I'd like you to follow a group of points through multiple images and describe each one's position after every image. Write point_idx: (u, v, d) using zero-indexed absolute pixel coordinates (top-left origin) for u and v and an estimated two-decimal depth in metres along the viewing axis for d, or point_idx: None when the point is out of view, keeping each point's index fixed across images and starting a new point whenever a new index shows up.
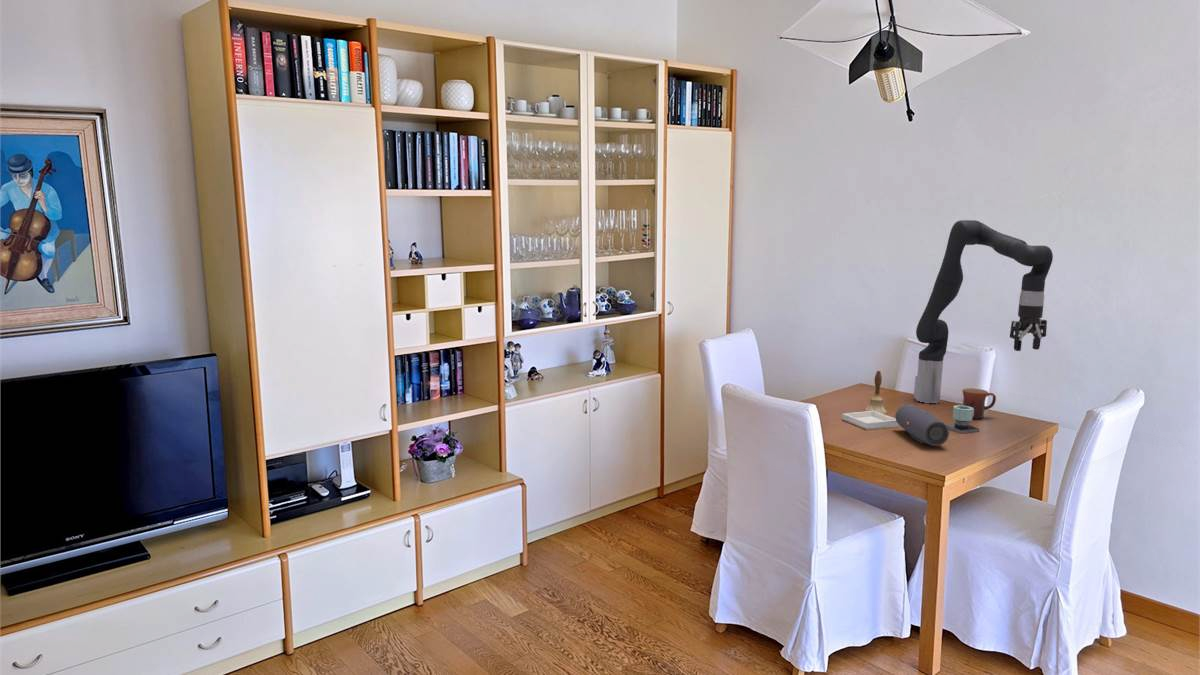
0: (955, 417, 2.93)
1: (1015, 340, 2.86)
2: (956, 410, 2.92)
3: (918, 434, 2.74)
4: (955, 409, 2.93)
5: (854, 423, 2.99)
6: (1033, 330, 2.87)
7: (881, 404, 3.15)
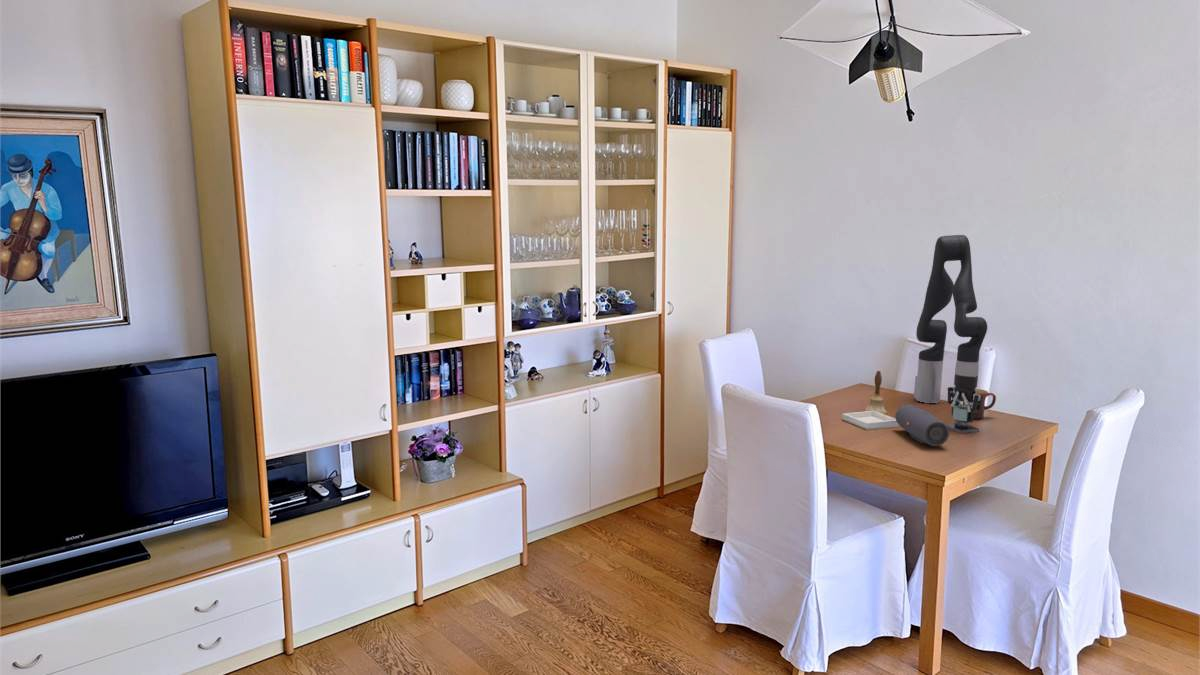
0: (955, 417, 2.93)
1: (972, 412, 2.89)
2: (956, 410, 2.92)
3: (918, 434, 2.74)
4: (955, 409, 2.93)
5: (854, 423, 2.99)
6: None
7: (881, 404, 3.15)
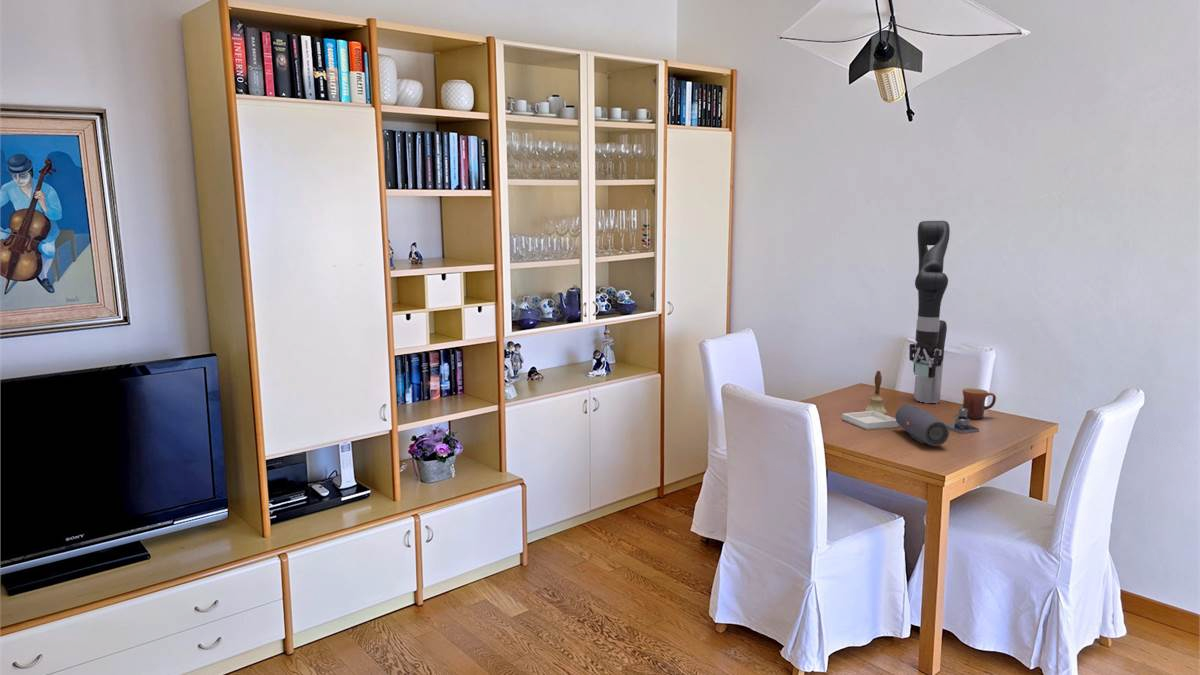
0: (917, 373, 2.93)
1: (934, 368, 2.89)
2: (918, 366, 2.92)
3: (918, 434, 2.74)
4: (917, 365, 2.93)
5: (854, 423, 2.99)
6: None
7: (881, 404, 3.15)
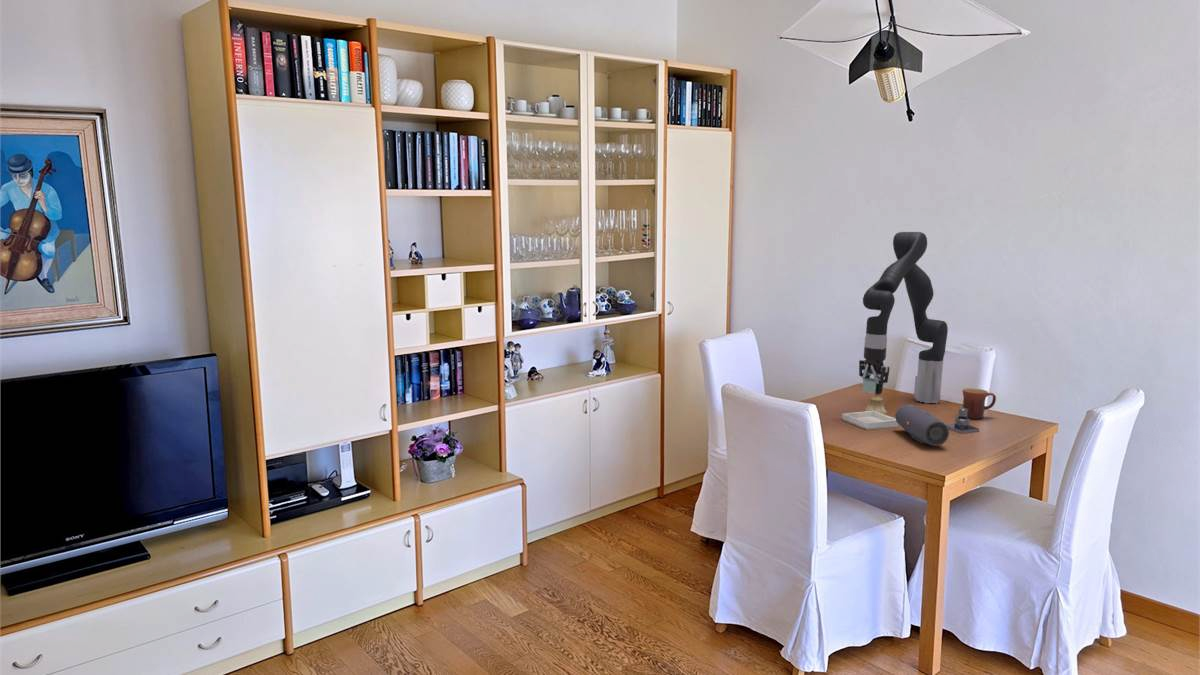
0: (864, 389, 2.98)
1: (880, 384, 2.94)
2: (865, 382, 2.97)
3: (918, 434, 2.74)
4: (864, 381, 2.98)
5: (854, 423, 2.99)
6: None
7: (881, 404, 3.15)
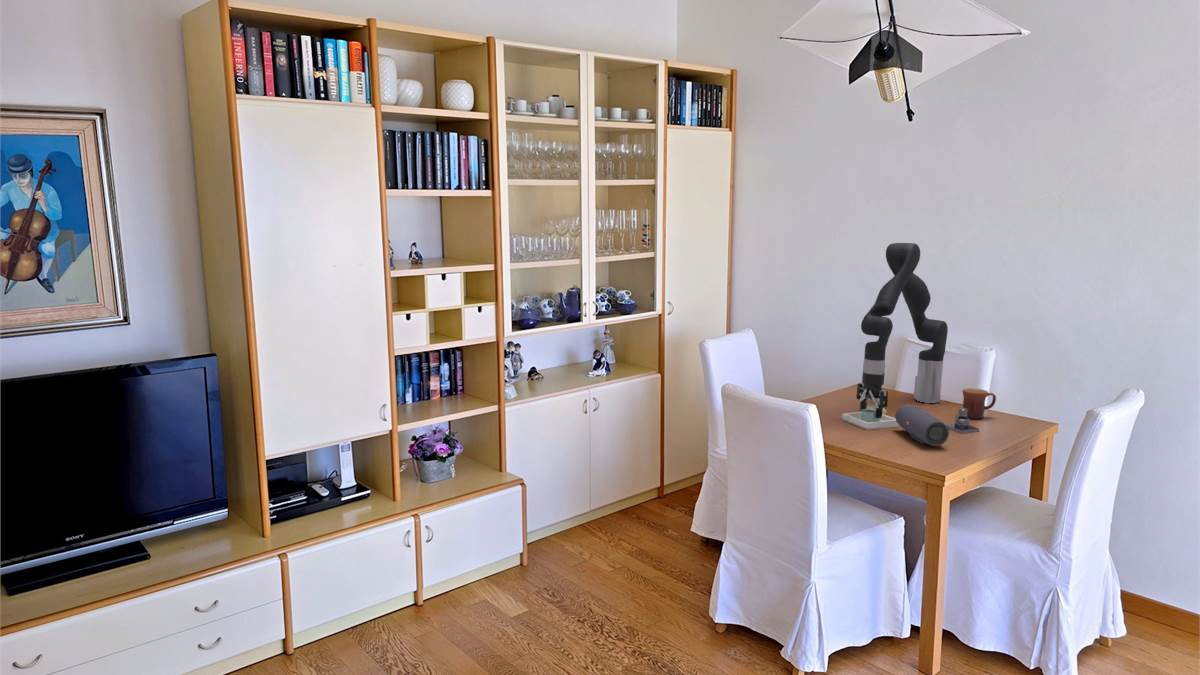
0: None
1: (880, 409, 2.95)
2: (863, 413, 2.99)
3: (918, 434, 2.74)
4: (862, 412, 3.00)
5: (854, 423, 2.99)
6: None
7: None
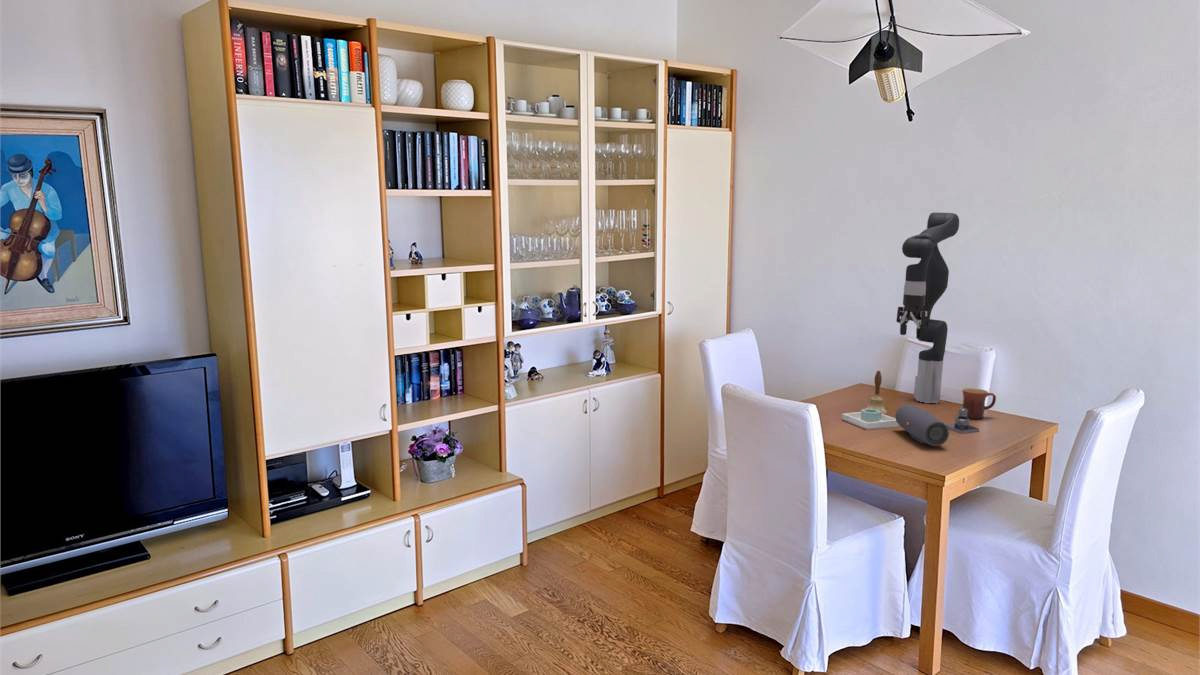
0: None
1: (921, 329, 3.02)
2: (863, 413, 2.99)
3: (918, 434, 2.74)
4: (862, 412, 3.00)
5: (854, 423, 2.99)
6: None
7: (881, 404, 3.15)
